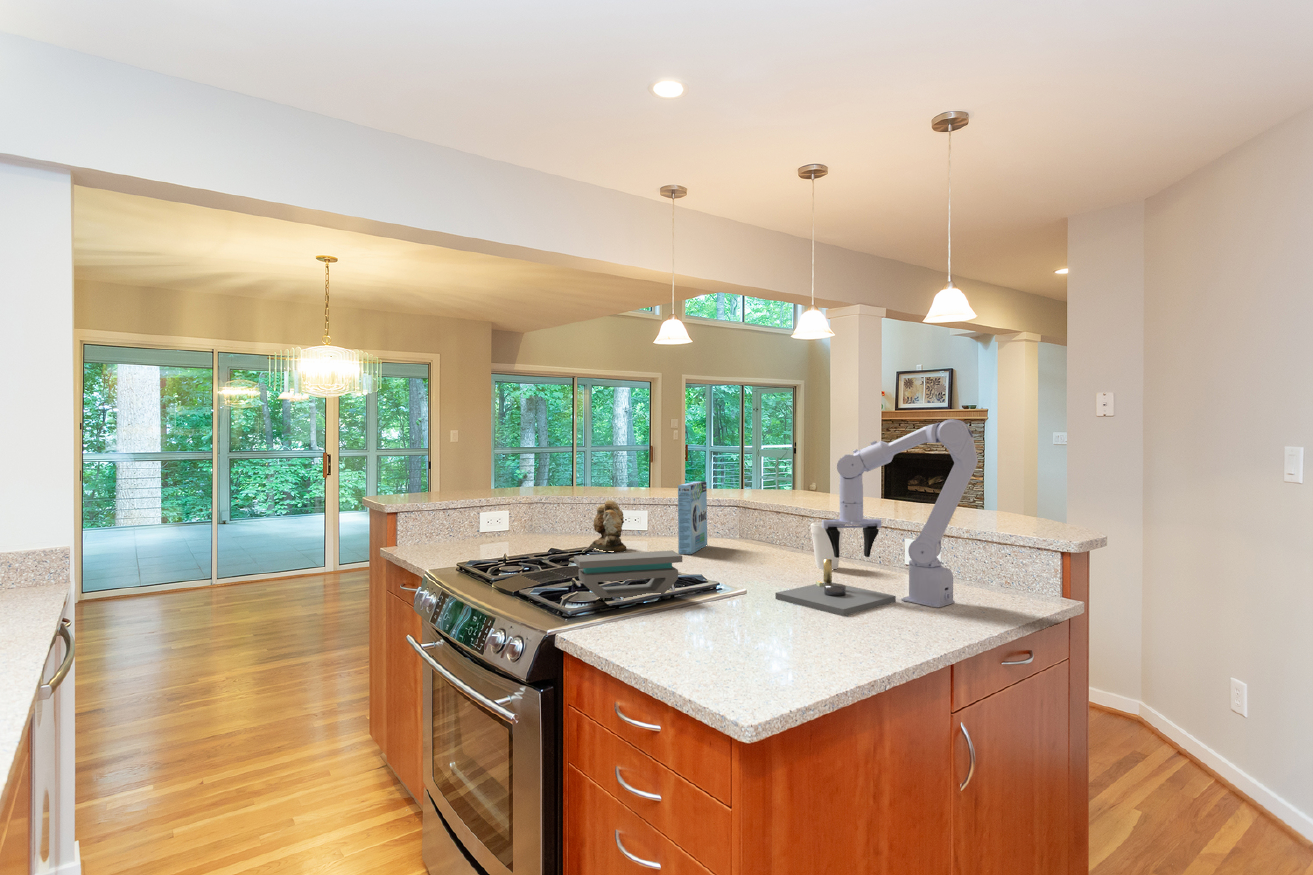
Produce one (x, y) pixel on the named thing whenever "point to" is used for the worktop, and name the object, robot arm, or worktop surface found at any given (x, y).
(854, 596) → the dial plate
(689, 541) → the gum box
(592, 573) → the sharpening stone
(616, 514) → the brown stone sculpture
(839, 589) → the crank
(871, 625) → the worktop surface
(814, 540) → the foam cup
